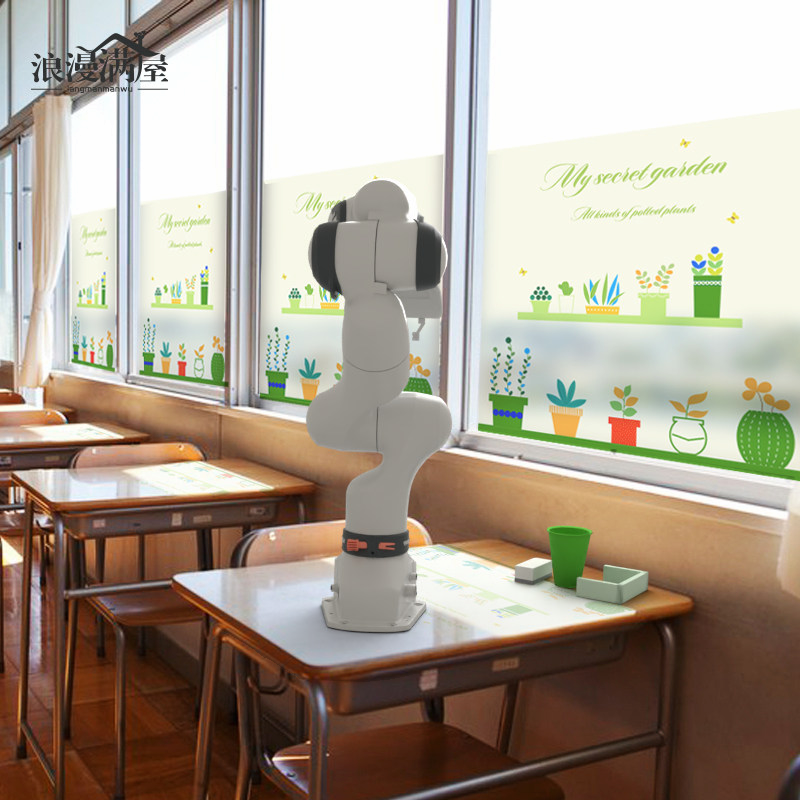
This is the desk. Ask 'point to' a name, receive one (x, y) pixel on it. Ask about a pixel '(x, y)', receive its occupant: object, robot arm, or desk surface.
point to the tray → (614, 585)
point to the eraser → (533, 571)
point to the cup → (568, 553)
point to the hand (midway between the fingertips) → (392, 339)
